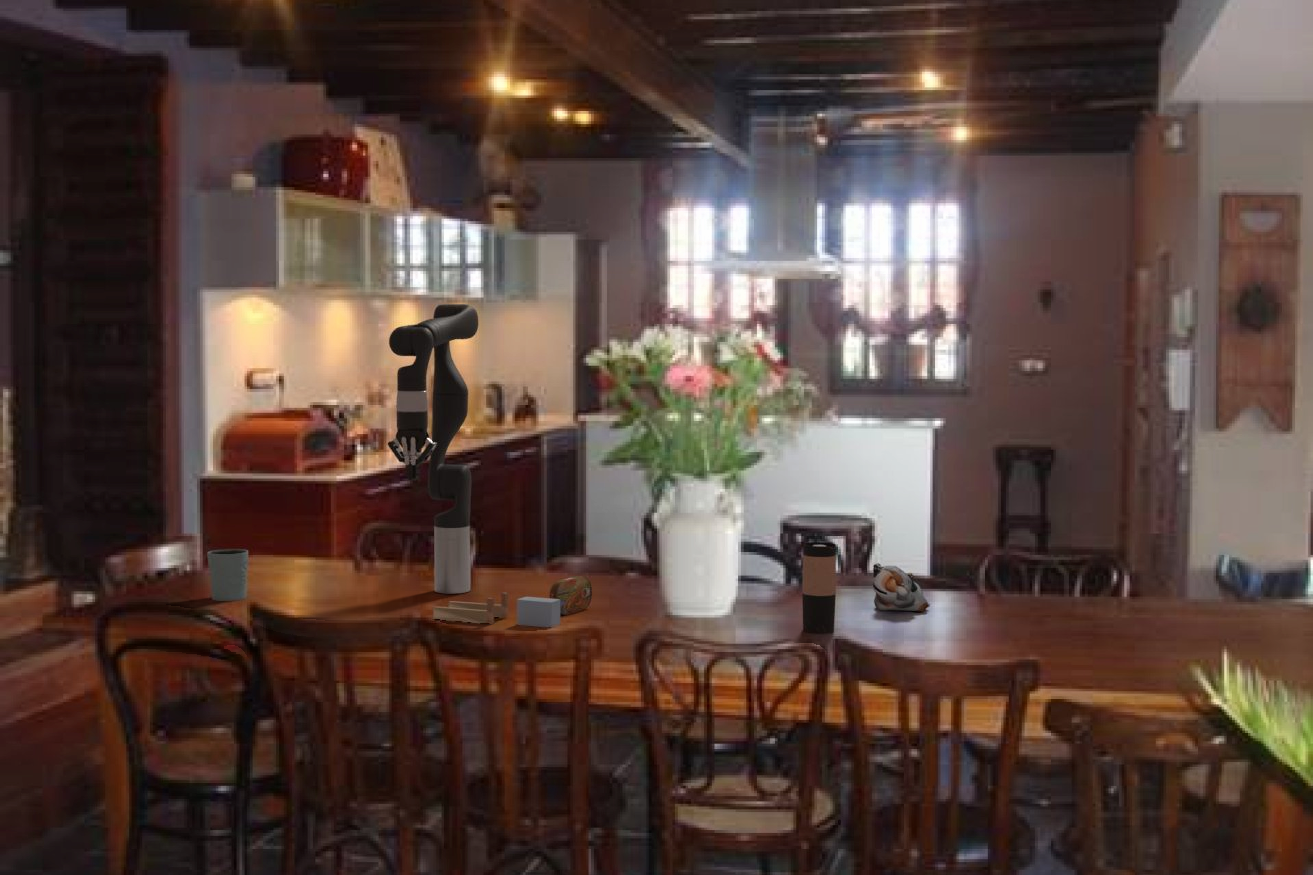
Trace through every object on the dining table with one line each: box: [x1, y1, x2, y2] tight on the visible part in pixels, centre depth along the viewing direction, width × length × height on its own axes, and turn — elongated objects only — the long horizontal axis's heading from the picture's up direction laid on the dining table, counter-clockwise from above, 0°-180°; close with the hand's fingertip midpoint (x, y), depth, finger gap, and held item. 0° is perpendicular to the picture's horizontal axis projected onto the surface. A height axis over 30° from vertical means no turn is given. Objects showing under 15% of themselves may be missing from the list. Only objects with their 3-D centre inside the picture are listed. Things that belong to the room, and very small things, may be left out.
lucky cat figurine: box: [872, 562, 931, 613], centre depth 378 cm, size 15×12×14 cm
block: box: [516, 596, 561, 629], centre depth 358 cm, size 4×9×6 cm, turn 68°
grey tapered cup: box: [206, 548, 249, 602], centre depth 390 cm, size 10×10×12 cm
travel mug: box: [801, 541, 837, 634], centre depth 353 cm, size 8×8×20 cm
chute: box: [432, 592, 509, 625], centre depth 364 cm, size 9×15×6 cm, turn 70°
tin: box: [549, 575, 593, 616], centre depth 374 cm, size 15×3×8 cm, turn 148°
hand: (412, 479), depth 375 cm, fingers closed
